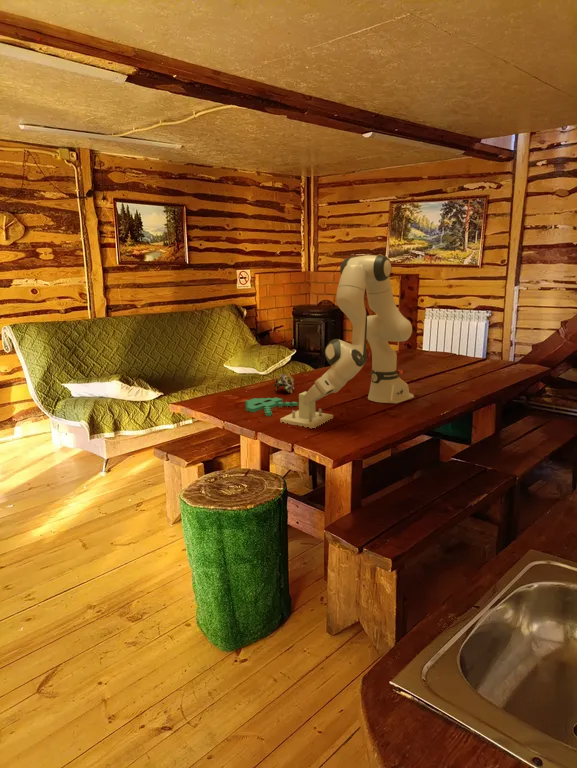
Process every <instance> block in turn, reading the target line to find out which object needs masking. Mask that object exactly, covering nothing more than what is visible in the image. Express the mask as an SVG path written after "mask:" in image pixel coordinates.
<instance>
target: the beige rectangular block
mask: <svg viewBox="0 0 577 768" xmlns="http://www.w3.org/2000/svg"><path fill="white" fill-rule="evenodd" d="M307 392H308V391H306V390H305V391H303V392H301V393H299V394H298V410H299V418H305V419H309V414H310V413H311V414H312V418H313V417H315V412H316V401H317V400H315V401H313V402H311V403H309V404H308V405H307V406H305V405H304V404H303V402H304V401H305V398H304V395H305V394H306V393H307Z"/></svg>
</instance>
